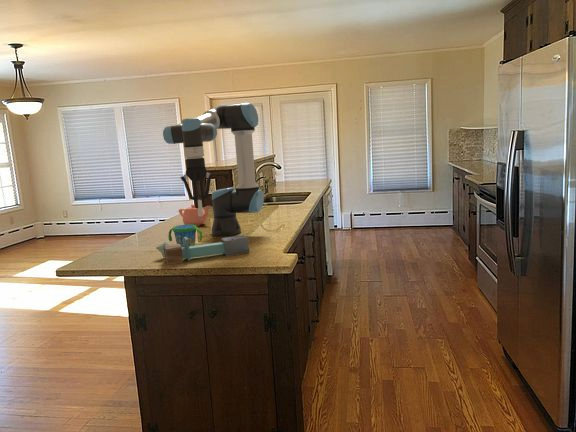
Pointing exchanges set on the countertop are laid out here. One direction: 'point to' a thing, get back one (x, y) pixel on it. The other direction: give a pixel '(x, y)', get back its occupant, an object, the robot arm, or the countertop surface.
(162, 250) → the robot head
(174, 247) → the socket block
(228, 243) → the sleeve
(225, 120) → the robot arm
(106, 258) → the countertop surface
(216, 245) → the tube
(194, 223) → the teapot
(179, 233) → the snack cup
